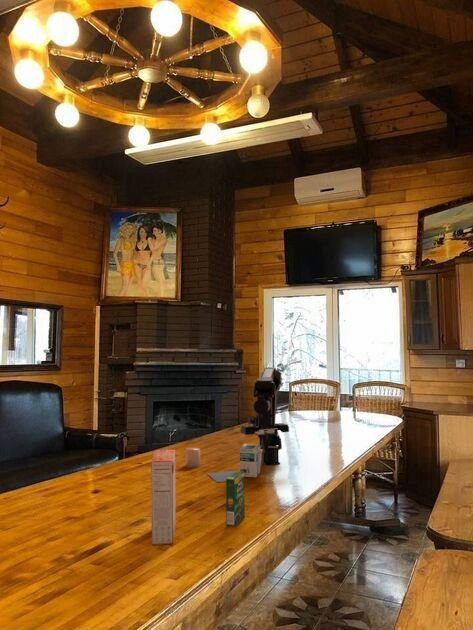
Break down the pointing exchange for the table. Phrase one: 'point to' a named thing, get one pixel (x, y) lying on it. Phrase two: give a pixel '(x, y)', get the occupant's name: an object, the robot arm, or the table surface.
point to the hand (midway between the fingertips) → (265, 450)
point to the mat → (220, 476)
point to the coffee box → (235, 499)
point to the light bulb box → (250, 460)
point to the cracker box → (163, 497)
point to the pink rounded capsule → (192, 457)
